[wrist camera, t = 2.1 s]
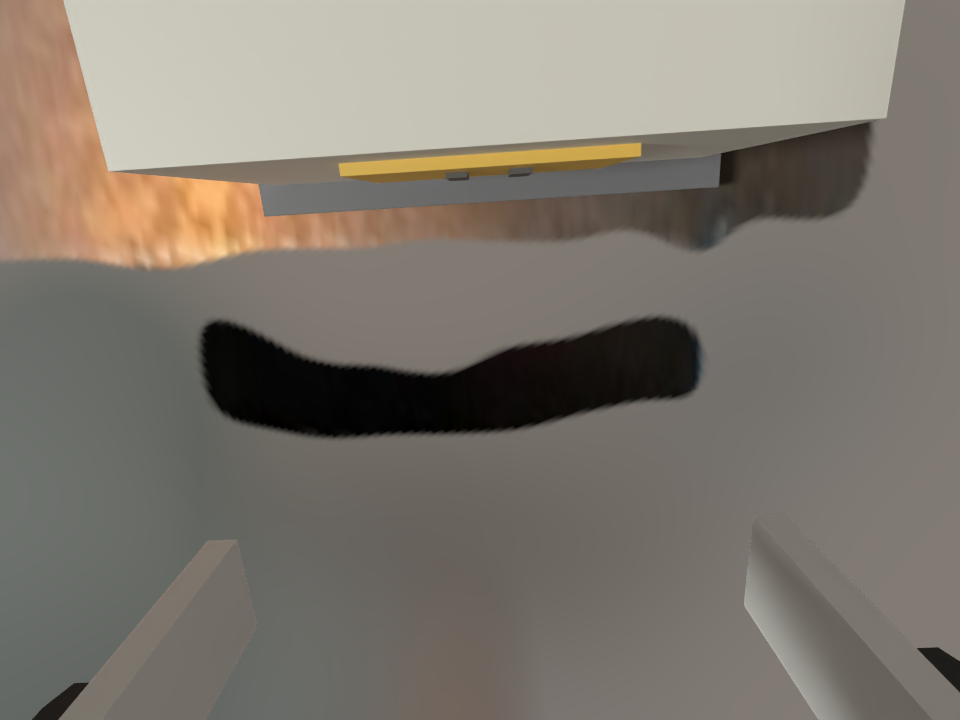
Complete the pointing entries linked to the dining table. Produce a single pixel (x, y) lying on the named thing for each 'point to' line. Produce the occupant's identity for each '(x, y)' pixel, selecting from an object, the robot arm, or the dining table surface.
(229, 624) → the robot arm
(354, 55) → the box
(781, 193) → the dining table surface
